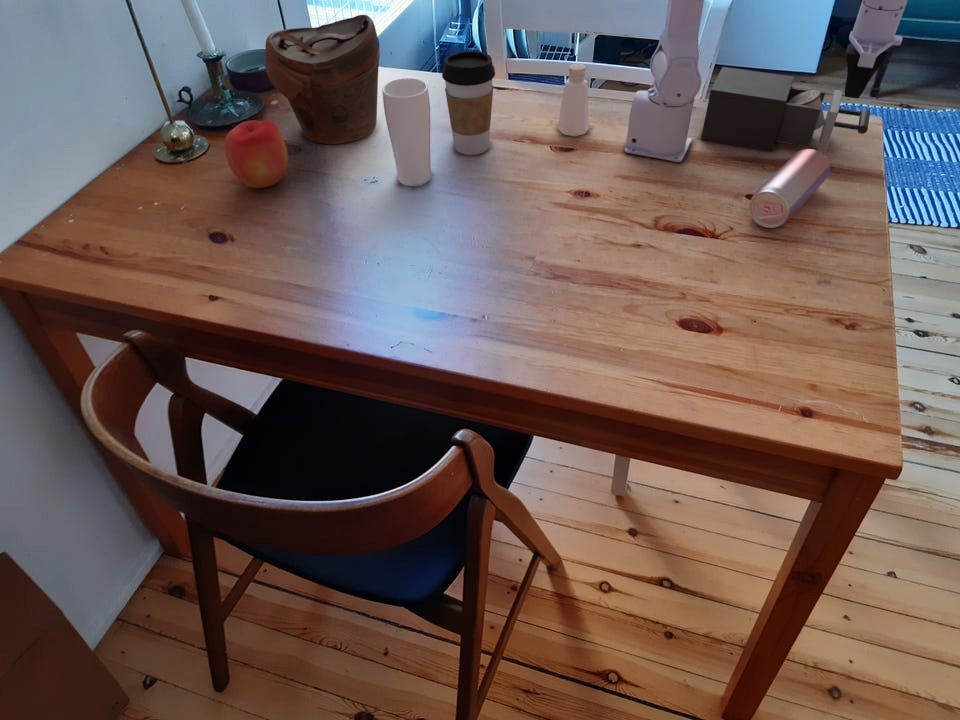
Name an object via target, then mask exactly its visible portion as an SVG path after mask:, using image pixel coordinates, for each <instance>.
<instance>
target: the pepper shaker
mask: <svg viewBox="0 0 960 720" xmlns="http://www.w3.org/2000/svg"><path fill="white" fill-rule="evenodd" d="M586 70H587V67H586V65H585V64H583V63H579V62H578V63H577V62H576V63H572V64H570V65H569V66H568V78H567V79H566V80H565V82H564V86H563V92H562V99H561V105H560V111H559V117H558V123H557V130H558V131H559V132H560V133H561V134H562V135H563V136H564V135H565V136H570V137H578V136H582V135H586V133H587V132H588V130H589V128H590V124H589V123H590V119H589V118H590V117H589V82H588V81H587V80H586V79H585V76H586Z"/></svg>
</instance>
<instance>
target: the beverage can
mask: <svg viewBox="0 0 960 720" xmlns="http://www.w3.org/2000/svg"><path fill="white" fill-rule="evenodd" d="M830 167H831V166H830V163H829V160H828V158H827V157H826V156H825V155H824V153H821V152H819V151H817V149H812V148H804V149H800V150H798V151H796V152H795V153H794V154H793V155H792V156H791V157H790V158H789V159H788V160H787V161H786V162H785V163H784V164H783V165H781V166H780V168H778V170H777V171H776V172H775V173H774V174H772V176H770V177H769V179H767V180H766V181H765V182H764V183H763V185H761V186H760V187H759V188H758V189H757V190H756V191H755V193H753V194H752V197H751V198H750V200H749V202H748V203H749V204H748V212H749V215H750V217H751V219H752V220H753V221H754V222H755V223H756V224H757V225H759V226H761V227H763V228H766V229H774V228H778V227H781V226H782V225H784V224H785V223H787V222H788V221H789V220H790V219H791V218H792V217H793V216H794V215H795V214H796V213H797V212H798V210H800V208H801V207H802V206H803V205H804V204H805V203H806V202H807V201H808V200H809V198H810V197H812V196H813V194H814V193H815V192H816V191H817V190H819V188H820V187H821V186H822V185H823V184H824V182H826V180H827V179H828V177H829V175H830V170H831V169H830Z"/></svg>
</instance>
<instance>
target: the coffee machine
mask: <svg viewBox="0 0 960 720" xmlns="http://www.w3.org/2000/svg"><path fill="white" fill-rule="evenodd" d="M794 80H795V76H792V75H785V74H779V73H770V72H762V71H757V70H756V71H755V70H750V69H749V70H748V69H741V68H734V67H727V66H722V67H721V69H720V70H719V72H718V74H717V77H716V79H715V80H714V82H713V84H712V86H711V88H710V92H709V95H708V96H709V97H708V102H707V107H706V111H705V116H704V117H705V118H704V122H703V126H702V130H701V131H702V132H701V135H700V140H703V141H709V142H715V143H719V144H725V145H732V146H737V147H742V148H749V149H755V150H761V151H767V152H773V149H774V147H775V144H776V141H775V140H776V136H777V133H778V129H779V125H780V122H781V118H782V115H783V111H784V108H785V104H786V101H787V98H788V95H789V92H790V89H791V87H793V83H794Z"/></svg>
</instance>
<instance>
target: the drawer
mask: <svg viewBox="0 0 960 720" xmlns="http://www.w3.org/2000/svg"><path fill="white" fill-rule="evenodd" d="M810 90H813V89H811V88H804V87H797V86H792V87H791V89H790V92H789V95H788V98H787V101H786V104H785V108H784V111H783V115H782V118H781V122H780V125H779V129H778V133H777V136H776V140H775V142H777V143H784V144H789V145H794V146H801V147H807V148H810V146H811V143H812V142H811V141H812V139H813V136H814V133H815V131H816V130H815V127H816V124H817V121H818V118H819V115H820V111H821V108H820V107H813V106H807V105H800V104H793V103H788V101H789V100H790V99H791V98H793V97H794V96H796V95H798V94H800V93H803V92H806V91H810ZM817 90H818V89H817ZM818 91H820V93H821V96H820V100H821V104H823V101H824V98H825V95H826V91H825V90H818ZM843 92H844V91H843V90H839V89H835V90H834V91H833V94H832V97H831V100H830V102H829V103H830V104H829V106H828V109H827V112H826V116H825V124H824V125H823V126H822V127H821V132H820V136H819V141H818V145H817V149H816V151H819V152H821V153H822V154H825V153H826V150H827V147H828V145H829V141H830V139H831V135H832V132H833V129H834V127H835V128H841V129H849V130H855V131H857V133H858V134H860V135H864V134H866V133H867V132H868V130H869V123H870V117H871V111H870V110H869V109H867V108H864V109H862V110H855V109H847V108H841V107H840V106H841V102H842V96H843ZM839 114H841V115H848V116H856V117H858V124H855V123H847V122H842V121H841V122H840V121H837V119H838V115H839Z"/></svg>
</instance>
